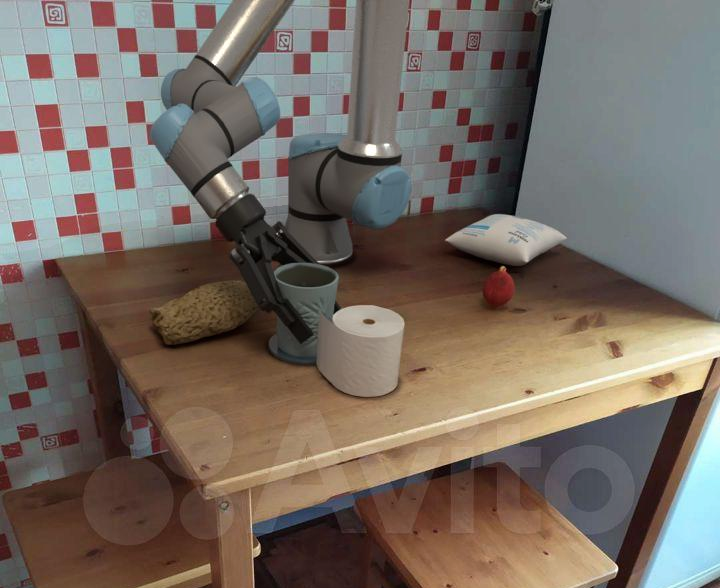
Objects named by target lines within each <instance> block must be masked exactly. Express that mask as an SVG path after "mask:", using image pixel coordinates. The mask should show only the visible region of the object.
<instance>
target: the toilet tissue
mask: <svg viewBox="0 0 720 588" xmlns="http://www.w3.org/2000/svg"><path fill="white" fill-rule="evenodd" d="M332 319H333V321H332V323H331V322H330V321H329V320H328V319H327V318H326V317H325V316H324V315H323V314H322V313H321V311H320V310H319V318H318V339H317V362H316V364H315V365H316V366H317V369H318V371H319V372H320V373H321V374H322V376H323V377H325V378H326V380H327V381H328V382H329V383H331V384H332V386H334V388H335V389H337V390H339V391H341V392H343V393H345V394H348V395H351V396H355V397H363V398H372V397H379V396H384V395H387V394H389V393H391V392H392V391H394V390H395V389H396V388H397V386H398V383H399V376H400V365H401V359H402V358H401V357H402V348H403V344H404V343H403V342H404V333H405V323H406V322H405V320H404V318H403V317H402V316H401V315H400V314H399V313H398V312H395V311H394V310H391V309H388V308H386V307H385V308H384V307H381V306H378V305H373V304H371V305H370V304H365V305H362V304H360V305H359V304H358V305H351V306H346V307H343V308H341V310H339V311H337V312H336V313H335V314H334V315H333V318H332Z"/></svg>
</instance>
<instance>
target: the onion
mask: <svg viewBox="0 0 720 588" xmlns="http://www.w3.org/2000/svg"><path fill="white" fill-rule="evenodd" d="M514 294H515V282H514V279H513V277H512V276H511V275H510V274H509V273H508V272H507V268H506V266H504V265H501V266H500V268H499V269H498V270H497V271H495V272H492V273H491V274H490V275H489V276H488V277H487V278H486V279H485V281H484V283H483V286H482V296H483V298H484V300H485V301H486V303H487V304H488V305H489V306H490V307H492V309H498V308H501V307H503V306H505V305H506V304H508V303H509V302H510V301H511V300H512V299H513V298H514Z"/></svg>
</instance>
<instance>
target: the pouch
mask: <svg viewBox="0 0 720 588" xmlns="http://www.w3.org/2000/svg"><path fill="white" fill-rule="evenodd" d="M567 239H568V237H567V236H565V235H564V234H563V233H561V231H559V230H557V229H555V228H553V227H551V226H550V225H549V226H548V225H546V224H543V223H541V222H539V221H535V220H532V219H527V218H524V217H521V216H515V215H510V214H505V213H504V214H502V213H495V214H491V215H488V216H486V217H484V218H483V219H480V220H479V221H476V222H473V223H472V224H469V225H467V226H466V227H464V228H462V229H459V230H457V231H456V232H455V233H453V234H451V235H449V236H448V237H447V238H446V239H444V241H445V242H447V244H449V245H450V246H452V247H454V248H455V249H457V250H458V251H461V252H464V253H467V254H469V255H472V256H474V257H478V258H480V259H482V260H483V259H484V260H487V261H491V262H494V263H498V264H502V265H506V266H507V265H508V266H514V267H521V266H525V265H527V263H529V262H531V261H532V260H533V259H535V258H536V257H539V256H540V255H543V254H544V253H546V252H547V251H549V250H551V249H553V248H554V247H556V246H558V245H560V244H561V243H562V242H564V241H565V240H567Z"/></svg>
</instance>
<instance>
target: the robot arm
mask: <svg viewBox="0 0 720 588" xmlns="http://www.w3.org/2000/svg"><path fill="white" fill-rule="evenodd" d="M295 1H296V0H231V2H230V4H229V5H228V6H227V8H226V10H225V11H224V12H223V13H222V15H221V17H220V19H219V20H218V21H217V22H216V25H214V26H213V28H212V30H211V31H210V33H209V35H208V36H207V38H206V39H205V40H204V42H203V44H202V45H201V46H200V48H199V49H198V51H197V52H196V53H195V55H194V56H193V58H192V59H191V61H190V62H189V64H188V65H187V66H186V68H184V67H183V68H176V69H173V70H171V71H170V72H167V74H166V75H165V77H164V78H163V80H162V82H161V86H160V98H161V102H162V105H163V106H164V108H165V111H164V112H163V113H162V114H161V115H160V116H159V117H157V119H155V121H154V122H153V124H152V125H151V127H150V131H149V138H150V140H151V142H152V143H153V145H154V146H155V149H156V150H157V152H158V153H159V154H160V156H161V157H162V158H163V160H164V162H165V163H166V164H167V165H168V166H169V168H170V169H171V170H172V171H173V172H174V174H175V175H176V176H177V177H178V179H179V180H180V182H181V183H182V184H183V185H184V186H185V187H186V189H187V190H188V191H189V192H190V194H191V195H192V197H193V198H194V199H195V200H196V202H197V203H198V205H200V207H201V209H202V210H203V211H204V213H205V214H206V215H207V217H208V218H209V219H210V220H215V222H214V226H215V228H216V229H217V230H218V232H220V234H221V235H222V236H223V238H224V239H225V240H226V242H228V243H233V242H235V244H236V246H235V248H233V249H232V250H231V251H230V252H229V253H228V258H229V260H230V261H231V262H232V263H233V264H234V265H235V266H236V268H237V269H238V271H239V273H240V275H241V277H242V279H243V280H244V281H243V282H245V283H246V284H247V286H248V288H249V290H250V292H251V294H252V295H253V297H254V299H255V301H256V303H257V305H258V307H259V308H258V309H259V310H260V311H261V312H266V313H267V314H270V313H272V312H274V313H275V314H276V315H275V316H276V317H277V316H278V317H279V318H280V319H281V321H282V322H283V324H284V325H285V326H286V327H288V329H289V330H290V331H291V332H292V334H293V335H294V336H295V338H296V339H297V340H298V342H299V343H300V344H302V343H303V342H305V341H306V340H307V339H309V338H310V337H312V336H313V335H314V333H313V332H312V330H311V329H310V328H309V326H308V325H307V324H306V322H305V321H304V320H303V318H302V317H301V316H300V315H299V313H298V312H297V311H296V309H295V308H294V307H293V305H292V304H291V303H290V301H289V300H286V301H285V302H284V300H283V297H282V294H281V292H280V289H279V286H278V283H277V281H276V278H275V275H274V269H273V266H272V264H271V263H272V262H277V263H278V264H279V265H281V266H283V265H287V264H292V263H312V264H319V265H323V266H326V267H329V268H331V267H332V268H333V267H336V266H337V267H338V266H340V265H344V264H346V263H348V262H350V261H351V259H352V258H353V250H354V249H353V242H352V238H351V234H350V229H349V225H348V222H347V220H348V221H351V222H352V223H354V224H356V225H357V226H359V227H365V228H368V229H371V230H383V229H386V228H388V227H390V226H391V225H393V224H394V223H396V222H397V220H398V219H399V217H400V216H401V215H403V213H404V212H405V210H406V208H407V207H408V204H409V202H410V198H411V197H412V187H413V186H412V185H413V184H412V178H411V177H410V176H409V175H410V174H409V173H408V171H406V169H405V168H404V167H402V160H403V159H402V158H403V148H402V147H401V145H399V143H398V142H397V140H396V133H397V125H398V114H399V107H400V94H401V86H402V76H403V67H404V56H405V48H406V47H405V46H406V40H407V39H406V38H407V28H408V18H409V9H410V0H355V10H354V25H353V40H352V55H351V68H350V69H351V71H350V84H349V99H348V111H347V128H346V134H343V133H336V132H335V133H334V132H316V133H315V132H314V133H305V134H300V135H296V136H294V137H293V138H292V139H291V140H290V143H289V150H288V151H289V152H288V156H287V160H288V167H287V168H288V171H287V172H288V176H287V178H288V180H287V181H288V182H287V183H288V187H287V189H288V191H287V195H288V197H287V198H288V199H287V200H288V201H287V207H288V208H287V216H286V220H285V223H283V222H282V221H280V220H278V221H277V222H276V223H274V224H273V225H270V224H269V223H268V222H267V221H266V220H265V216H266V214H267V211H266V209H265V208H264V206H263V205H262V203H261V202H260V200H259V199H258V198H257V197H256V196H255V194H254V193H253V194H252V193H249V192H250V187H249V186H248V184H247V183H246V181H245V180H244V179H243V178H242V176H241V175H240V174H239V172H238V171H237V170H236V168H235V167H234V165H233V164H232V163H231V162H230V160H229V159H230V158H232V157H233V156H234V155H236V154H237V153H239V152H240V151H241V150H243V149H245V148H246V147H248V146H249V145H251V144H252V143H254V142H255V141H256V140H258V139H259V138H261V137H264V136H266V133H268V132H269V131H270V130H271V129H273V128H274V127H275V126H276V125H277V124H278V123H279V122H280V120H281V107H280V104H279V101H278V98H277V95H276V94H275V92H274V91H273V89H272V87H270V85H269V84H268V83H267V82H266V81H265V80H264V79H262V78H260V77H258V76H257V77H255V76H253V77H250V78H249V79H246V80H245V81H244V80H242V81H241V82H240V80H241V79H242V78H243V76H244V75H245V73H246V72H247V70H248V69H249V67H250V66H251V64H252V63H253V62H254V61H255V59H256V57H257V56H258V55H259V53H260V51H261V50H262V48H263V47H264V45H265V44H266V43H267V41H268V40H269V38H270V37H271V35H272V34H273V33H274V31H275V30H276V28H277V27H278V25H279V24H280V22H281V21H282V20H283V18H284V17H285V15H286V14H287V12H288V11H289V9H290V8H291V7H292V5H293V3H294V2H295ZM239 82H240V84H239ZM355 229H356V228H355V225H352V235H355ZM283 302H284V303H283ZM341 309H342V307H341V306H340V304H339V303H338V302H337V300H336V299H335V304H334V313H333V315H334V314H335V313H336V312H337V311H339V310H341Z"/></svg>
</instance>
